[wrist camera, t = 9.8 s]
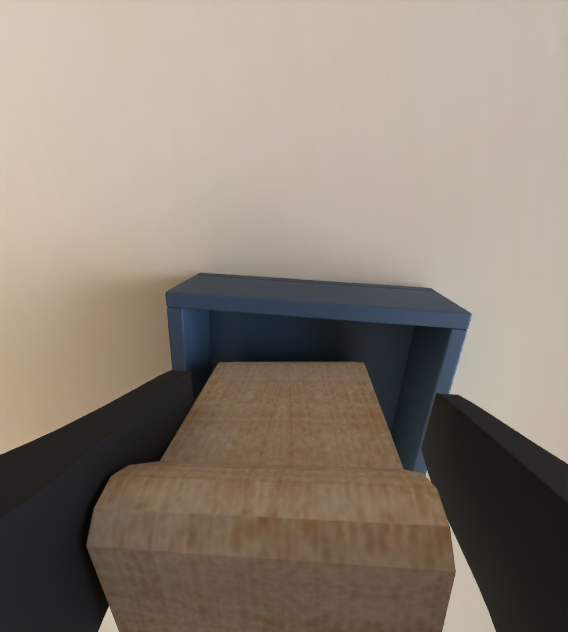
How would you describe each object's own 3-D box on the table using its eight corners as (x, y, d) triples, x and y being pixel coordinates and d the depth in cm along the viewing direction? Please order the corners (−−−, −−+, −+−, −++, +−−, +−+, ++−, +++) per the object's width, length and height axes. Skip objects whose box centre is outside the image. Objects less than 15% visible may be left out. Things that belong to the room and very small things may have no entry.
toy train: (259, 552, 19) (213, 875, 10) (233, 312, 14) (67, 535, 4) (343, 557, 19) (379, 901, 9) (353, 310, 13) (469, 558, 4)
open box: (366, 568, 20) (378, 639, 16) (213, 549, 20) (195, 614, 17) (431, 288, 13) (473, 313, 10) (199, 272, 14) (164, 291, 10)
